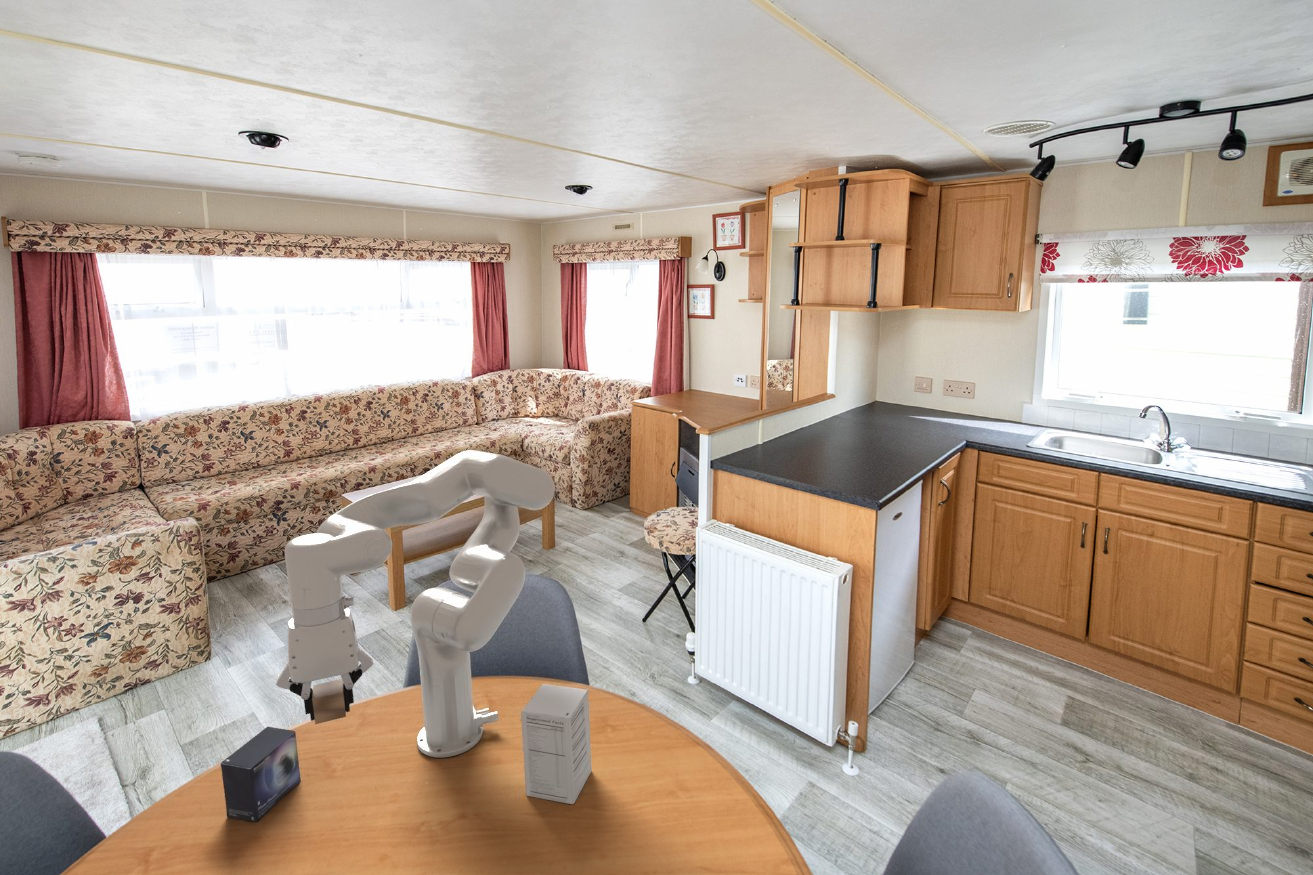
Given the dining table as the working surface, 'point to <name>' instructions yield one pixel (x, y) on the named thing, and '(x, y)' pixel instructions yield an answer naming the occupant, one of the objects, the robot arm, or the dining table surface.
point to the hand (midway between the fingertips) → (330, 710)
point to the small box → (260, 773)
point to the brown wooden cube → (328, 701)
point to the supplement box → (556, 743)
